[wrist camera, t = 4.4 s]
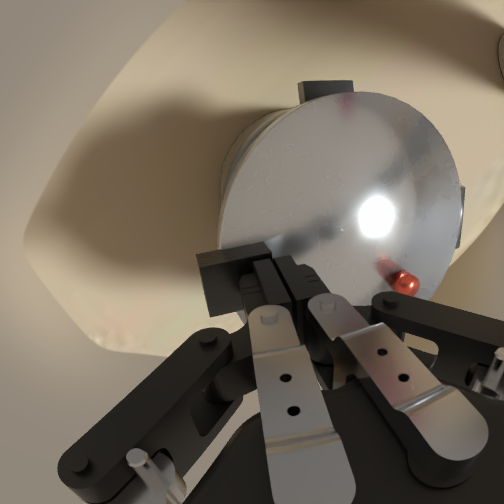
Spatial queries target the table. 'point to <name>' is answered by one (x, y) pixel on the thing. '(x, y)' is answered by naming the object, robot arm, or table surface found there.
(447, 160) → the cooker lid
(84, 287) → the table surface
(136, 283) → the table surface
